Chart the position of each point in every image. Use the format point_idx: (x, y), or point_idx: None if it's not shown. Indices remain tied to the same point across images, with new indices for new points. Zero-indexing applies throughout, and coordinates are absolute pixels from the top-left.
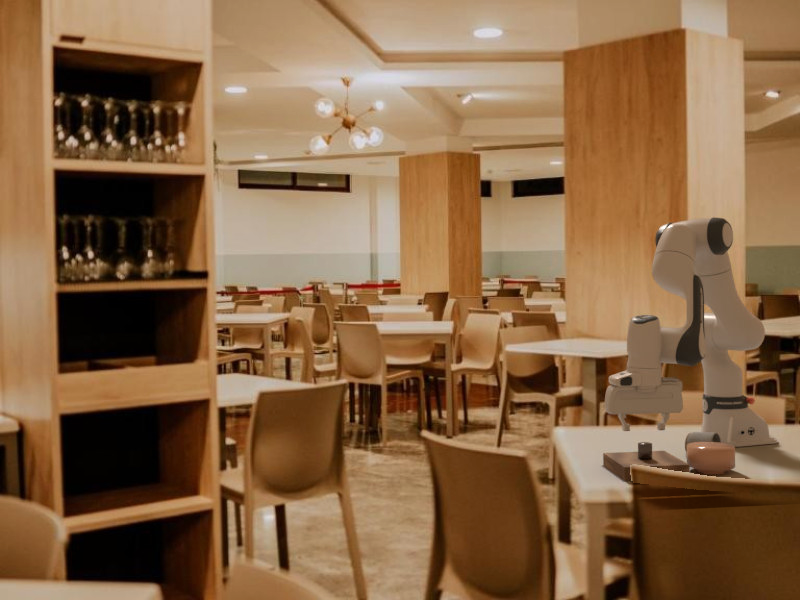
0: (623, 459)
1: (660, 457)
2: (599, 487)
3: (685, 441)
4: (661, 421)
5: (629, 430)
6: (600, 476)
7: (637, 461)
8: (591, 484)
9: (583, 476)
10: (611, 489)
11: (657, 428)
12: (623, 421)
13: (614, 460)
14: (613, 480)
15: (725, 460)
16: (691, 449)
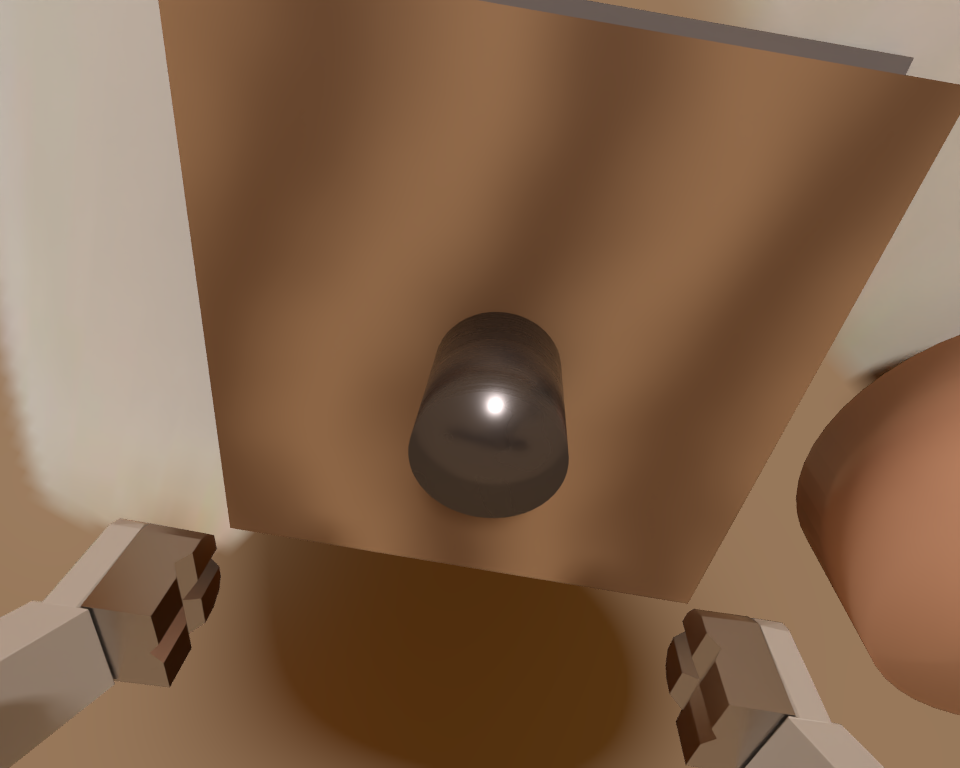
0: (295, 334)
1: (657, 376)
2: (114, 480)
3: None
4: (799, 759)
5: (211, 597)
6: (156, 269)
7: (386, 428)
8: (74, 420)
9: (28, 227)
10: (171, 525)
11: (697, 617)
12: (8, 733)
13: (206, 338)
14: None
15: None
16: (868, 589)
